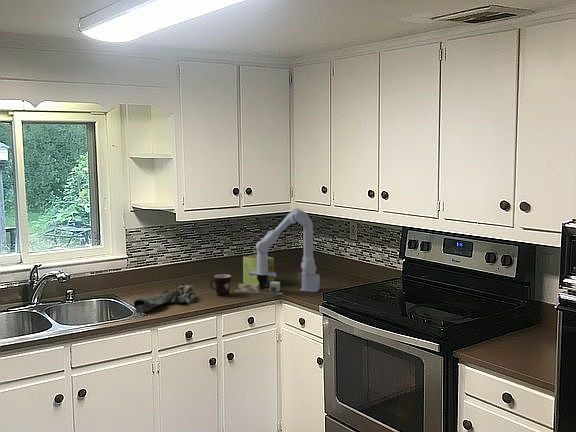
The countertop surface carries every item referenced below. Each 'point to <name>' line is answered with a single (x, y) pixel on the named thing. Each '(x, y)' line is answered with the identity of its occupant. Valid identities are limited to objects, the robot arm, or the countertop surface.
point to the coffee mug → (222, 284)
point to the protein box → (251, 265)
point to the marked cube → (274, 286)
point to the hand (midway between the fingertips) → (262, 289)
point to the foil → (185, 294)
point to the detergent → (153, 301)
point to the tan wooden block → (249, 287)
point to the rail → (260, 292)
